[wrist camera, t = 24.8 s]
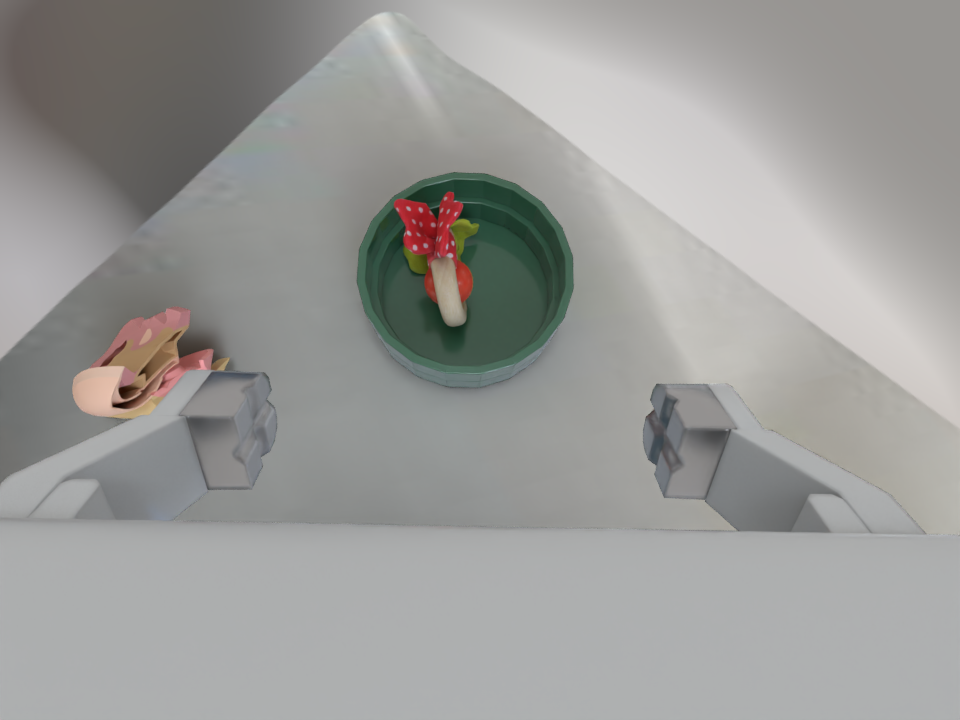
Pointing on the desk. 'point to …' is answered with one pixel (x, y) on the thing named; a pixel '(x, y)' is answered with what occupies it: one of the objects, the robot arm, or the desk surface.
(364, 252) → the bowl
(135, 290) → the desk surface
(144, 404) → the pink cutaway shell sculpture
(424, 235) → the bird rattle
